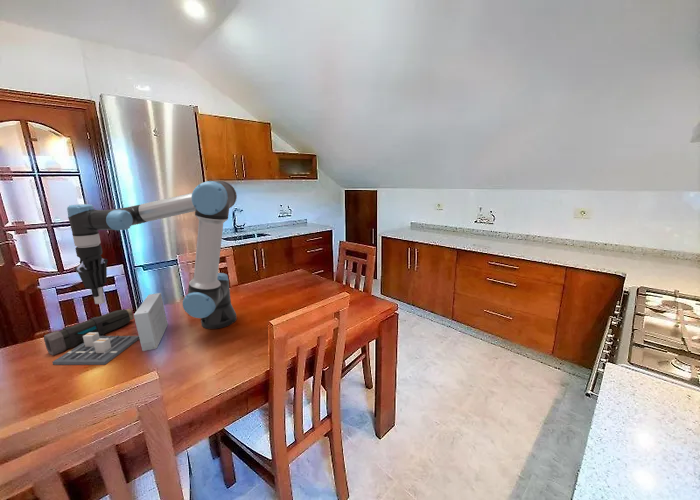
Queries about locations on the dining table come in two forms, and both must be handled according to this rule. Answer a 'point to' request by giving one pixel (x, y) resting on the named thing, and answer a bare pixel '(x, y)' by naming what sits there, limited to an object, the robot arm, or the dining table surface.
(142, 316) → the skincare box
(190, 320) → the dining table surface
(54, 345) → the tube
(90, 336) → the fader
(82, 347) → the console
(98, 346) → the fader
